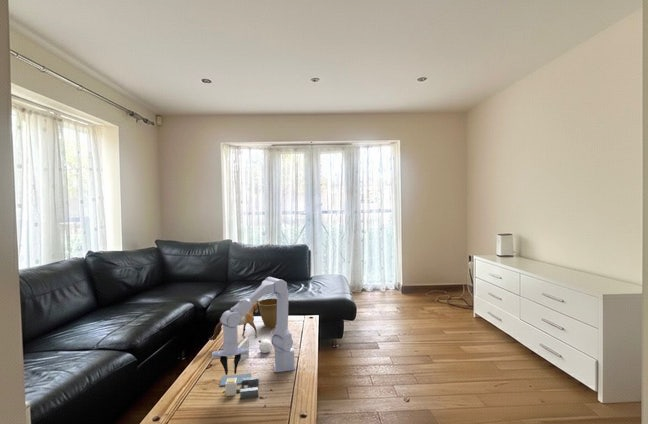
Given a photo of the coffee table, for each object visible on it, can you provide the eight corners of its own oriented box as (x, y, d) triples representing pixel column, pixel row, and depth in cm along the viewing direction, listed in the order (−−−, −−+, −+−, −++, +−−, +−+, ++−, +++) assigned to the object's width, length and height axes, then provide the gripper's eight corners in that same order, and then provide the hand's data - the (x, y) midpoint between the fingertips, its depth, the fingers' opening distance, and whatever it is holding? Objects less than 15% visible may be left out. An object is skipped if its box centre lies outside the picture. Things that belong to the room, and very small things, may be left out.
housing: (258, 383, 132) (258, 376, 132) (258, 397, 122) (258, 389, 122) (242, 385, 131) (242, 378, 131) (240, 399, 121) (240, 391, 121)
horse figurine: (257, 332, 187) (257, 299, 187) (264, 336, 182) (264, 302, 182) (208, 348, 166) (208, 311, 166) (214, 353, 160) (214, 315, 160)
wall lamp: (248, 388, 128) (248, 376, 128) (247, 394, 124) (246, 381, 124) (227, 390, 127) (227, 377, 127) (225, 395, 123) (225, 383, 123)
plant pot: (274, 319, 208) (273, 296, 208) (285, 326, 197) (285, 301, 197) (254, 325, 199) (254, 301, 199) (265, 332, 187) (265, 306, 187)
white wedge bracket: (255, 349, 159) (248, 337, 156) (241, 365, 153) (234, 353, 149) (251, 347, 162) (244, 335, 158) (237, 363, 155) (229, 351, 151)
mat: (251, 374, 139) (251, 373, 139) (250, 382, 132) (250, 381, 132) (221, 377, 137) (221, 376, 137) (219, 386, 130) (219, 385, 130)
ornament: (267, 356, 156) (258, 345, 156) (262, 355, 162) (254, 345, 162) (276, 346, 160) (267, 335, 160) (271, 346, 166) (263, 336, 166)
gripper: (210, 346, 120) (211, 380, 120) (247, 342, 122) (248, 376, 122) (213, 339, 126) (213, 371, 127) (248, 335, 129) (249, 367, 129)
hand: (231, 373), depth 125 cm, fingers open, 3 cm apart
